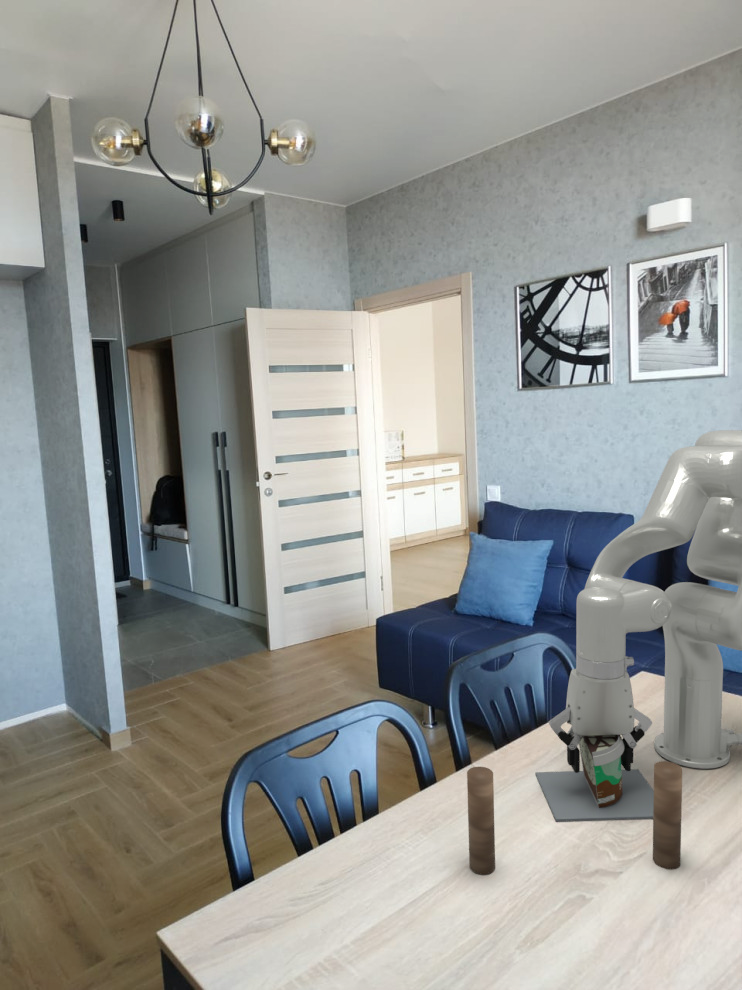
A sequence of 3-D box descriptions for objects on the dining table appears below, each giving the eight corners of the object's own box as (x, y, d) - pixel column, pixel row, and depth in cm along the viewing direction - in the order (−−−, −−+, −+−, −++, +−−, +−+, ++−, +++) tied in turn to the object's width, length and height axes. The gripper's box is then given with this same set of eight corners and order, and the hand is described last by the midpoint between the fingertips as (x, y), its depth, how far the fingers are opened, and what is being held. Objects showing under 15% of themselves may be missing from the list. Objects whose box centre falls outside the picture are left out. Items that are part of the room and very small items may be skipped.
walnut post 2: (673, 852, 100) (675, 760, 99) (684, 868, 97) (686, 774, 95) (648, 853, 100) (650, 761, 99) (658, 869, 97) (660, 774, 95)
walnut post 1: (492, 857, 101) (490, 766, 99) (497, 874, 97) (495, 779, 95) (467, 858, 101) (465, 767, 99) (471, 875, 97) (469, 780, 95)
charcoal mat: (638, 771, 122) (638, 769, 122) (671, 818, 108) (671, 815, 108) (535, 774, 123) (535, 772, 122) (556, 821, 109) (555, 819, 109)
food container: (640, 808, 109) (633, 748, 108) (601, 813, 110) (593, 754, 108) (617, 768, 121) (610, 713, 120) (582, 772, 122) (574, 718, 121)
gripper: (645, 655, 116) (644, 754, 119) (541, 658, 116) (541, 758, 119) (664, 672, 109) (662, 778, 111) (552, 676, 109) (552, 781, 111)
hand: (599, 767), depth 115 cm, fingers open, 7 cm apart
